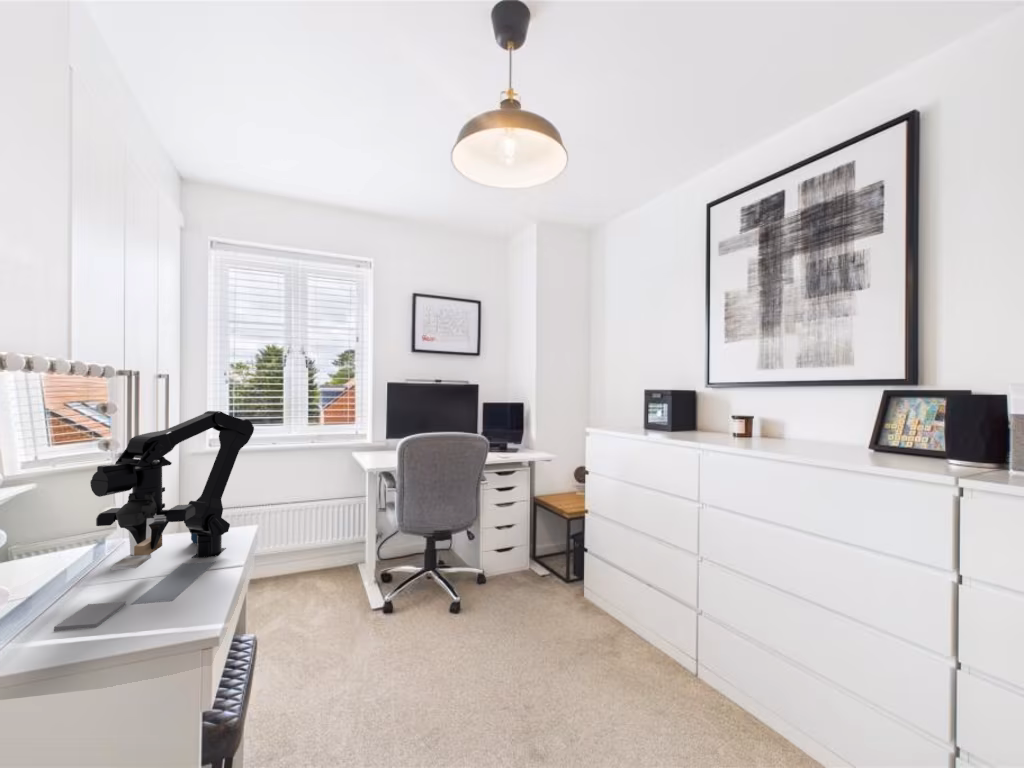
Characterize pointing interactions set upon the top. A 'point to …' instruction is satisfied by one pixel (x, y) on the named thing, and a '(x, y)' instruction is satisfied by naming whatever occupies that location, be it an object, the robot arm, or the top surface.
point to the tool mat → (174, 583)
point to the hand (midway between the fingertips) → (147, 549)
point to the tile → (90, 616)
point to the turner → (137, 555)
